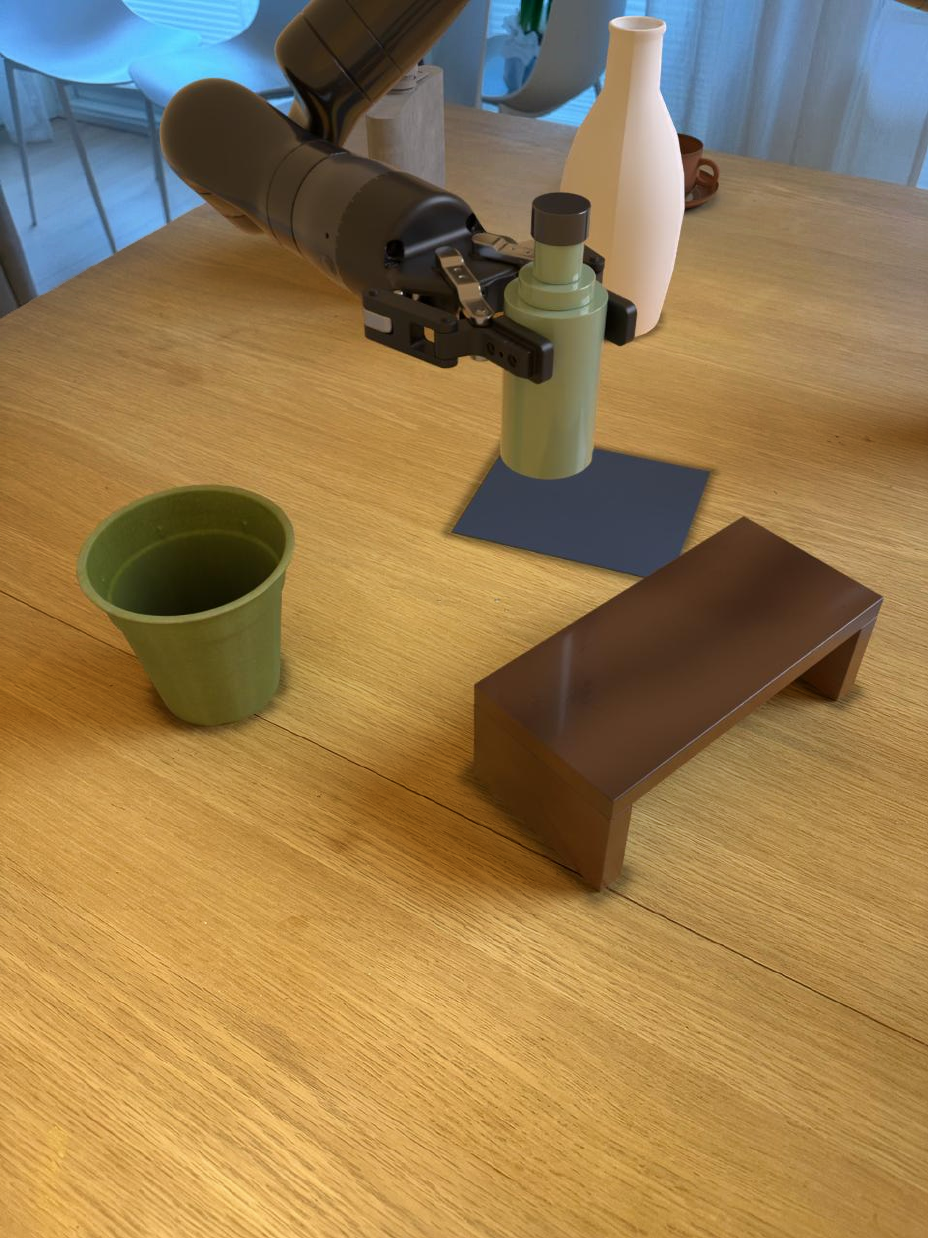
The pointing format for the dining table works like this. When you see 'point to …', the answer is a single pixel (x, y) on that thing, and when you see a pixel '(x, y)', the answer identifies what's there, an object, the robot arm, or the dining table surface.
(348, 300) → the dining table surface
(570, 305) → the spice bottle
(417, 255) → the robot arm
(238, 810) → the dining table surface
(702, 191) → the cup and saucer
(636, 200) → the bottle
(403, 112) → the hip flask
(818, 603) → the shelf
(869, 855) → the dining table surface
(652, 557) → the mat
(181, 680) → the plant pot
